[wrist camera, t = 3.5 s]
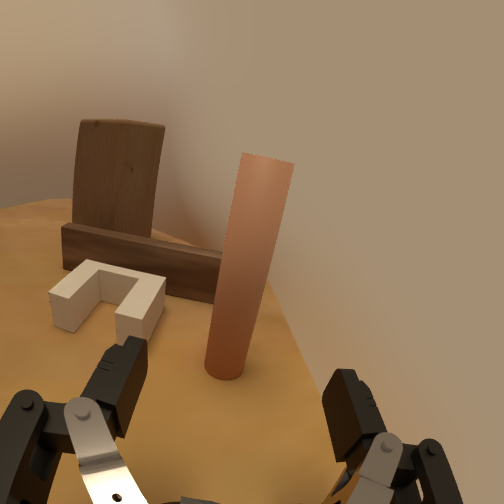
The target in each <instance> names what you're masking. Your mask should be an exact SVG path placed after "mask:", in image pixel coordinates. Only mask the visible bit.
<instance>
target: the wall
mask: <svg viewBox="0 0 504 504" xmlns="http://www.w3.org/2000/svg"><path fill="white" fill-rule="evenodd" d="M61 236H62V256H63V269H67V270H70V271H73V270H74V269H75V268H77V267H78V266H79V265H80V264H81V263H83V262H84V261H85V260H86V259H88V260H92V261H96V262H100V263H104V264H108V265H113V266H117V267H121V268H126V269H130V270H135V271H139V272H144V273H148V274H153V275H157V276H162V277H166V287H165V294H167V295H172V296H177V297H182V298H187V299H191V300H196V301H202V302H207V303H212V304H214V300H215V294H216V288H217V282H218V276H219V271H220V265H221V259H222V254H223V252H218V251H214V250H208V249H203V248H198V247H193V246H187V245H182V244H177V243H172V242H167V241H161V240H156V239H151V238H146V237H141V236H136V235H131V234H125V233H120V232H115V231H110V230H105V229H100V228H95V227H90V226H85V225H80V224H75V223H70V222H69V223H67V224H65V225H63V226H62V227H61Z"/></svg>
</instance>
